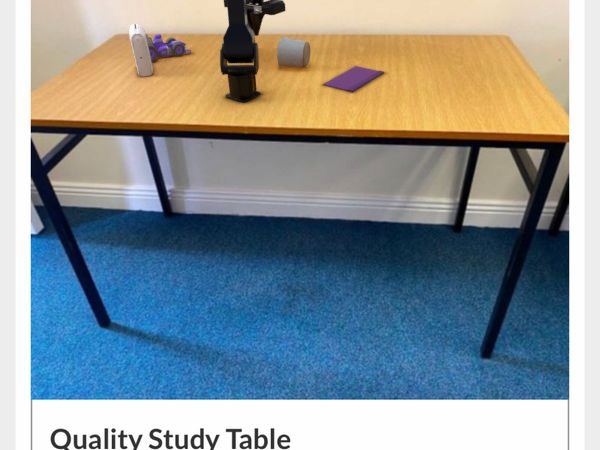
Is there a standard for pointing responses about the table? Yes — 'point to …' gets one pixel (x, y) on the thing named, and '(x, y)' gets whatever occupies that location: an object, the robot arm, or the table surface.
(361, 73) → the cloth
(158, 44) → the toy race car
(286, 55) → the ceramic mug
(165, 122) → the table surface
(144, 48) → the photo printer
